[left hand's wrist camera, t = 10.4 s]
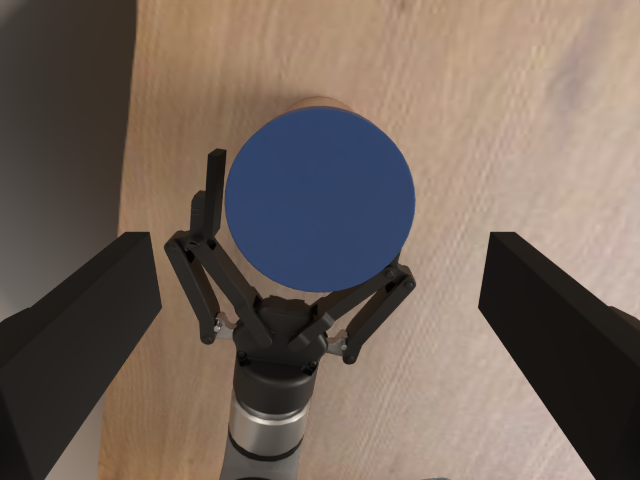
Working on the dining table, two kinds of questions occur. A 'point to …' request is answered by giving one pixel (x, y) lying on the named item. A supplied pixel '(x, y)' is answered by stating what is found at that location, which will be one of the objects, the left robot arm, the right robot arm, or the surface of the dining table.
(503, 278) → the left robot arm
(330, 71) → the dining table surface
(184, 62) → the dining table surface
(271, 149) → the lid
